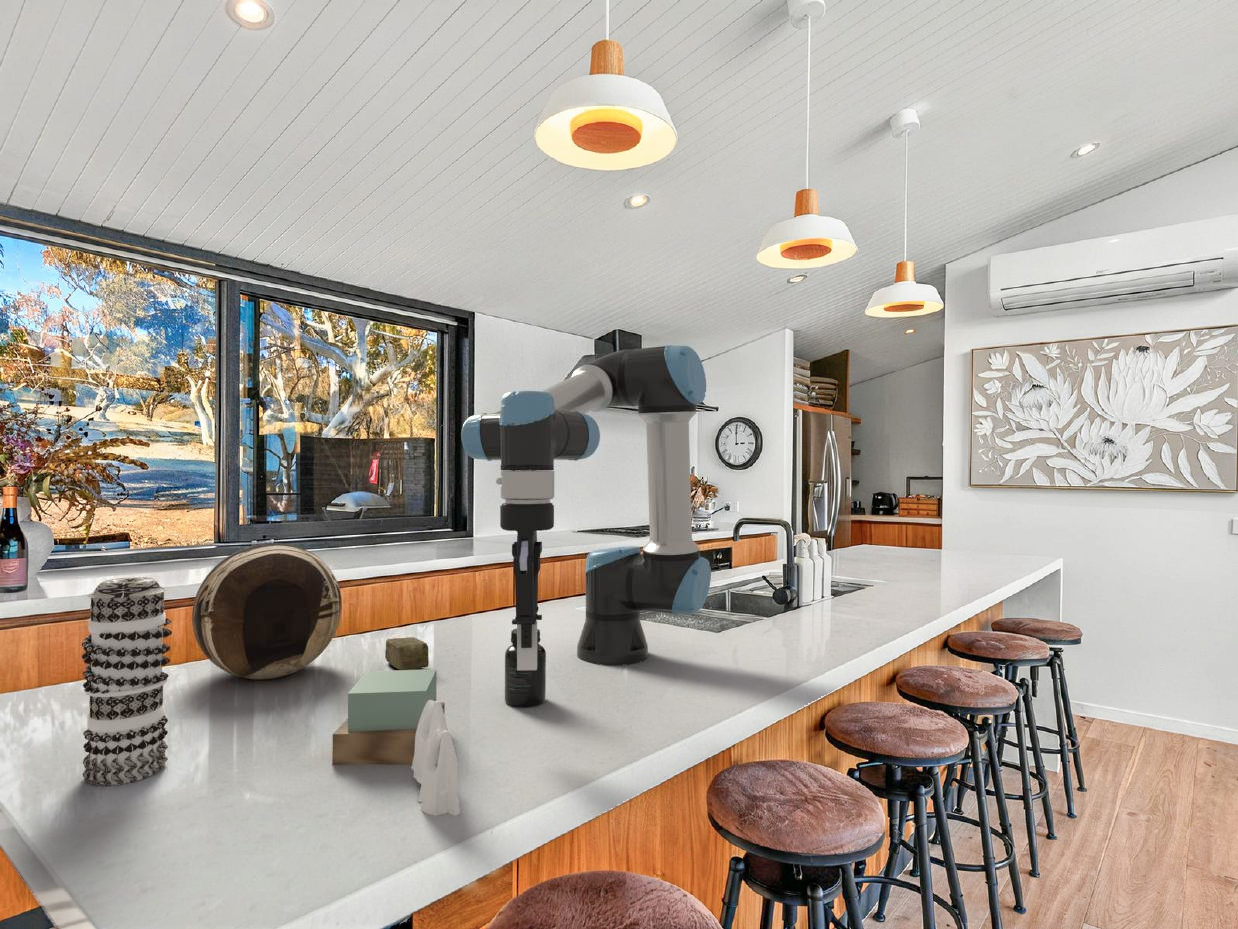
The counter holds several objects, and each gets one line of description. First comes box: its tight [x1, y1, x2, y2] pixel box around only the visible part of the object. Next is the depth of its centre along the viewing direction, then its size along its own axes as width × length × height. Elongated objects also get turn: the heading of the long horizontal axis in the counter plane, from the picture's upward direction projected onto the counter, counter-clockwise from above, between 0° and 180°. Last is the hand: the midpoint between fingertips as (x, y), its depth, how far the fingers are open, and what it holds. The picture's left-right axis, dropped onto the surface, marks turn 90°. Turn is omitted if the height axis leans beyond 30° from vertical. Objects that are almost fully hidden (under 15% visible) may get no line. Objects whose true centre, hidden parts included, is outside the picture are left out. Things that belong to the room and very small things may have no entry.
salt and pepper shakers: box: [410, 700, 461, 817], centre depth 82 cm, size 12×4×11 cm, turn 23°
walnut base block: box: [331, 701, 446, 766], centre depth 96 cm, size 12×12×5 cm
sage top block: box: [347, 668, 438, 732], centre depth 96 cm, size 10×10×5 cm
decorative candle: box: [81, 576, 173, 787], centre depth 87 cm, size 9×9×25 cm
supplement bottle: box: [504, 628, 547, 709], centre depth 117 cm, size 7×7×12 cm
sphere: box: [191, 542, 343, 681], centre depth 130 cm, size 25×25×25 cm
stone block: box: [384, 636, 430, 670], centre depth 135 cm, size 6×12×5 cm, turn 33°
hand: (527, 668), depth 97 cm, fingers closed
